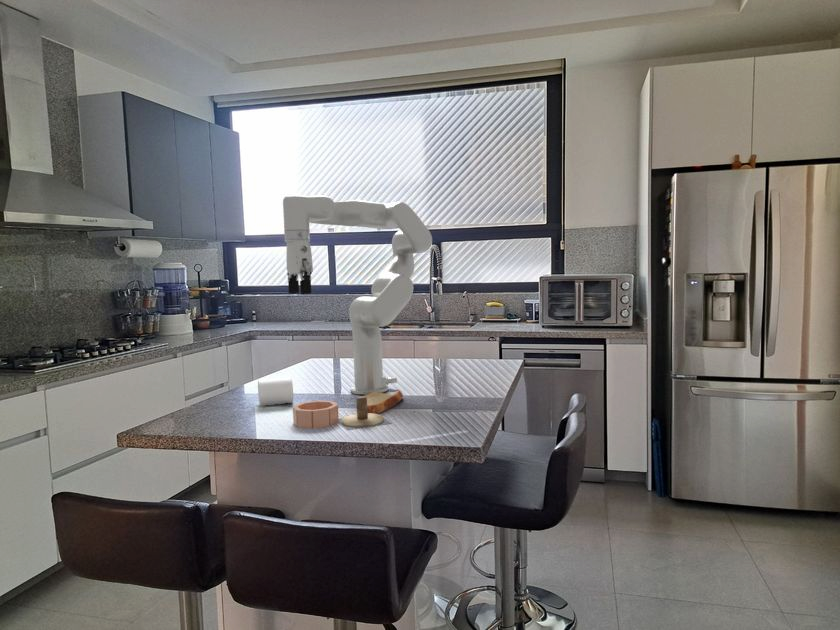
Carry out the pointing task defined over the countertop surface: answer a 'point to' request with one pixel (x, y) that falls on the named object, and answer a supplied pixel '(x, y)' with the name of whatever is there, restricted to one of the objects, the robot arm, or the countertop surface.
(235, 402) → the countertop surface
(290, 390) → the mug
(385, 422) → the mat
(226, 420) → the countertop surface
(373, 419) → the lid
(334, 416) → the bowl
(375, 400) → the bread slice
